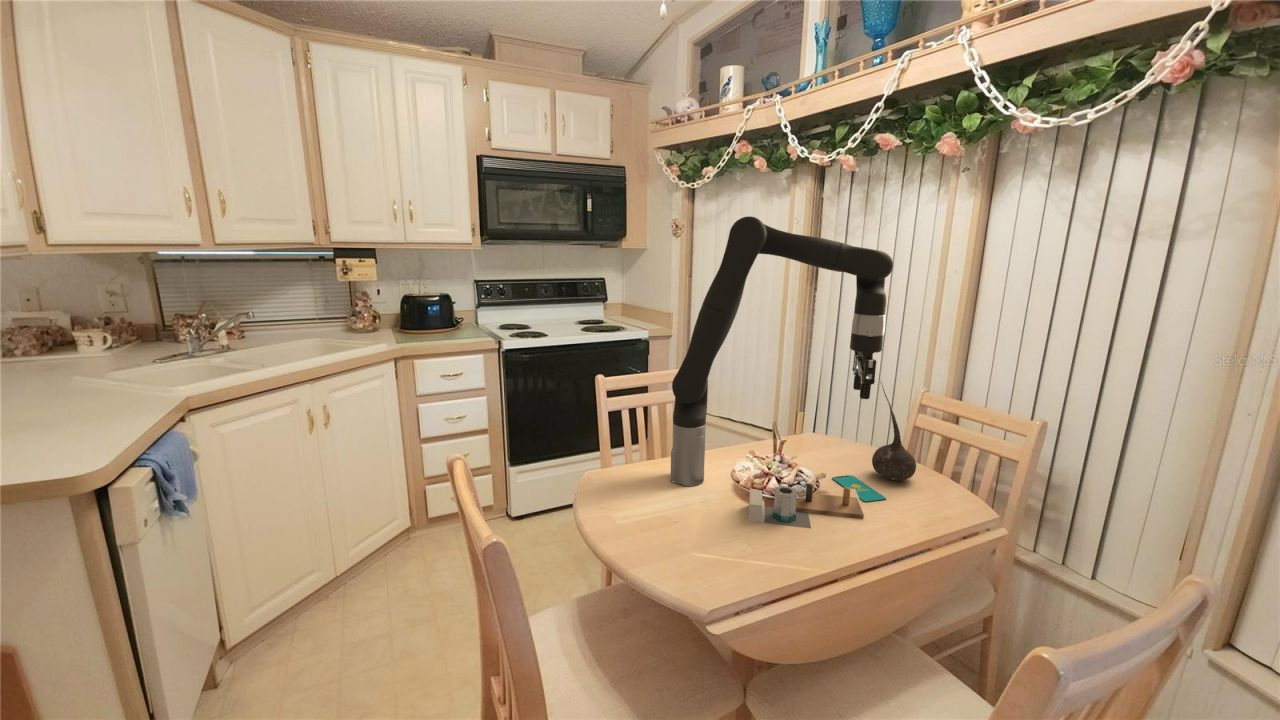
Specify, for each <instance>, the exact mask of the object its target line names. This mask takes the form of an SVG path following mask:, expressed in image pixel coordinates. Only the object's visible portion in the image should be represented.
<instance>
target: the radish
mask: <svg viewBox="0 0 1280 720" xmlns="http://www.w3.org/2000/svg"><path fill="white" fill-rule="evenodd" d="M879 382H880V384H881V388H882V391H883V394H884V397H885V399H886V400H887V403H888V406H889V407H888V408H889V411H890V416H891V422H892V425H893V426H892V427H893V428H892V429H893V431H892V432H893V440H892V443H889V444H885V445H882V446H880V447H878V448H877V449H876V450H875V451H874V453H873V455H872V457H871V463H872V468H873V469H874V471H875V472H876V473H877V474H878V475H879V476H881V477H883V478H885V479H889V480H893V481H898V482H900V481H907V480H908V479H911V478H912V477H913V476H914V475H915V473H916V470H917V461H916V459H915V457H914V456H913V455H912V454H911V452H909V451H908V450H906V448H905V447H904V445H903V444H902V439H901V433H900V428H899V425H898V422H897V419H896V415H895V413H894V411H893V409H892V405H891V403H890V401H889V398H888V396H887V395H886V390H885V388H884V385H883V382H882V381H881V380H880V381H879Z"/></svg>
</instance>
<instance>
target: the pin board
mask: <svg viewBox="0 0 1280 720" xmlns="http://www.w3.org/2000/svg"><path fill="white" fill-rule="evenodd" d="M851 490H852V489H850V488H849V487H844V488H843V491H842V492H843V493H842V495H831V494H822V493H814V492H813V491H814V483H810V482H808V483H806V489H805V493H806V498H805V499H800V500H796V511H798V512H807V513H808V514H817V515H824V516H836V517H842V518H843V517H845V518H854V519H864V517H865V515H864V512H863V508H862V507H861V505H860V502H859V500H858V499H859V498H858V497H853V496H852V497H851ZM813 493H814V494H813Z"/></svg>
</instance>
